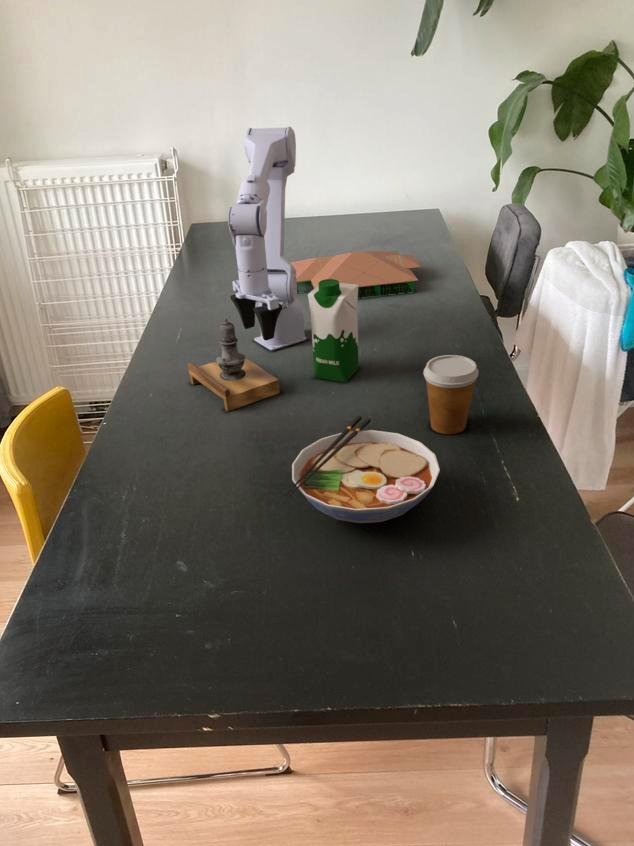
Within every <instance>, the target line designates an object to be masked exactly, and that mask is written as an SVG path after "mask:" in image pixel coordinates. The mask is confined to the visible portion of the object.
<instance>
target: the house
mask: <svg viewBox="0 0 634 846" xmlns="http://www.w3.org/2000/svg"><path fill="white" fill-rule="evenodd" d="M289 262H290V261H289ZM290 263H291V264H292V265H293V266H294V267H295V270H296V280H297V284H301V283H302V284H301V286H299V287H300V288H299V289H300V292H298V289H297V294H302V293H304V291H302V289H301V287H302V288H303V290H304V289H305V287H304V286H306V287H308V286H309V285H312V288H313V290H314V289H315V288H316V287H317V286H318V285H319V282H320V281H322V280H325V279H335V280H338V281H339V283H347V284H357V285H358V288H364V287H365V288H366V287H368V288H369V289H368V290H367V289H365V292H368V291H369V292H368V293H369V295H367V293H365V296H362V299H365V298H375V297H376V295H372V296H371V295H370V294H371V293H370V292H371V288H370V287H373V288H374V291H376V293H377V295H378V296H380V297H383V296H386V294H385V293H384V291H385V290H390V287H386V288H385V285H394V284H399V285H398V286H395V287H394V289H397V288H398V293H399V295H401V294H404V291H403V290H404V287H405V288H408V286H409V289H410V290H411V291H408V294H412V293H415V282H419V279H418V277H416V275H415V274H414V272H413V270H418V268H419V269H420V268H422V265H421V264H420V262H419V261H418V260H417V259H416V257H415V256H414V255H413V254H400V253H399V251H387V250H385V251H383V250H382V251H381V250H375V251H374V250H359V251H352V252H351V251H350V252H346V253H341V254H336V255H327V256H317V257H313V258H307V259H301V260H297V261H292V262H290ZM304 282H305V283H304ZM307 282H308V283H307ZM310 282H311V283H310ZM401 283H402V286H400V285H401ZM403 283H406V285H404V284H403ZM382 285H383V287H382V291H383V294H382V295H381V286H382ZM400 288H402V289H401V290H402V292H400ZM311 291H312V290H309V291H308V293H310V292H311ZM358 293H361V290H358ZM384 294H385V295H384ZM391 295H395V293H389V296H391Z"/></svg>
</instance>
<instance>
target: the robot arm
mask: <svg viewBox="0 0 634 846" xmlns="http://www.w3.org/2000/svg"><path fill="white" fill-rule="evenodd" d="M243 139H244V141H243V143H244V145H243V146H244V154H245V157H246V158H247V161H248V163H249V172H248V175H246V176H245V177H243V179H242V180H241V183H240V187H239V191H238V194H237V197H236V202H235V203H234V204H233V205H232V206H231V207H229V209H228V215H227V216H228V217H227V220H228V221H227V222H228V229H229V233H230V236H231V241H232V246H233V247H235V248H234V249H235V257H236V266H237V275H238V279H236V280H232V291H234V292H235V294H231V295H230V297H229V298H230V301H232V303H233V304H234V307H235V308H236V310H237V313H238V314H239V318H240V320H241V323H242V326H243V328H244V329H245V330H248V329H252V328H254V327H255V324H256V317H257V321H258V324H259V328H260V329H259V330H260V336H256V337H254V338H253V340H254V341H255V342H256V343H258V344H260V345H261V346H262V347H264V348H266V349H268V350H269V351H272V352H273V351H277V350H279V349H283V348H286V347H289V346H292V345H295V344H298V343H300V342H304V341H307V337H306V335H305V321H304V310H303V306H302V304H301V302H300V301H299V300H298V299H297V295H298V293H297V290H298V283H297V280H296V270H295V267H294V266H293V265H292V264H291V263H290V261H289V260H287V259H286V258H285V219H286V218H285V217H286V216H285V215H286V187H287V180H288V177H289V176H291V175H292V174H294V173H295V168H296V163H297V162H296V161H297V141H296V140H297V139H296V133H295V130H294V129H293V128H292V126H287V127H265V128H252V127H248V128H247V130H246V131H245V133H244V138H243Z"/></svg>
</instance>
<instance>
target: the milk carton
mask: <svg viewBox="0 0 634 846" xmlns="http://www.w3.org/2000/svg"><path fill="white" fill-rule="evenodd" d="M310 291H311V292H308V294H307V299H308V304H309V312H310V326H311V342H312V344H311V345H312V359H313V373H314V374H313V375H314V378H315V379H320V380H327V381H333V382H339V383H347V382H348V381H349V379H351V377H352V376H353V375H354V374H355V372H356V371H358V369H359V367H360V366H359V325H358V324H359V321H358V320H359V318H358V302H359V301H358V300H359V292H358V291H359V287H358V285H357V284H347V283H339V281H338V280H335V279H325V280H322V281H320V282H319V285H318V286H317V287H316V288H315V289H314V288H313V289H311V290H310Z"/></svg>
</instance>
